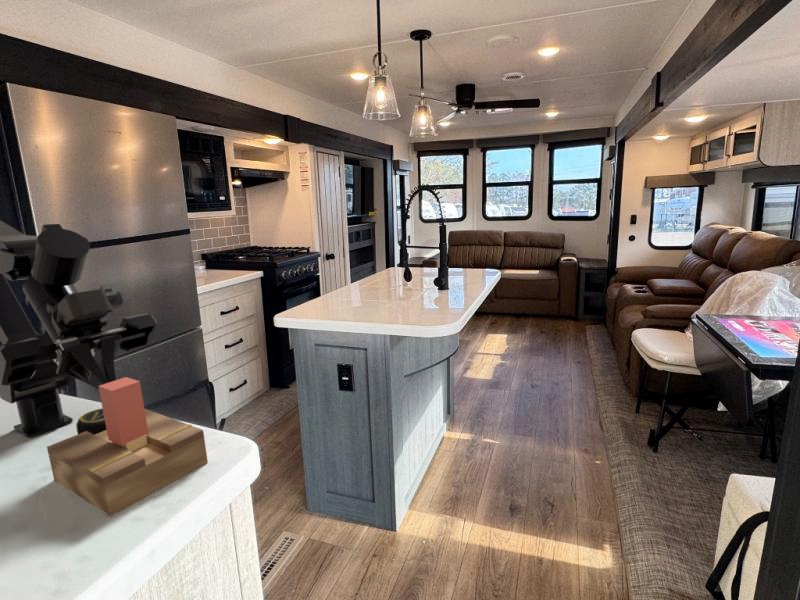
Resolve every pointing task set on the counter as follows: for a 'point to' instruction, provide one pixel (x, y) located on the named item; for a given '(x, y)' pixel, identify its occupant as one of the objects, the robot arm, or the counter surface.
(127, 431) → the red tall block
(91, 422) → the tape measure
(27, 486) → the counter surface
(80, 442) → the grooved wooden block
